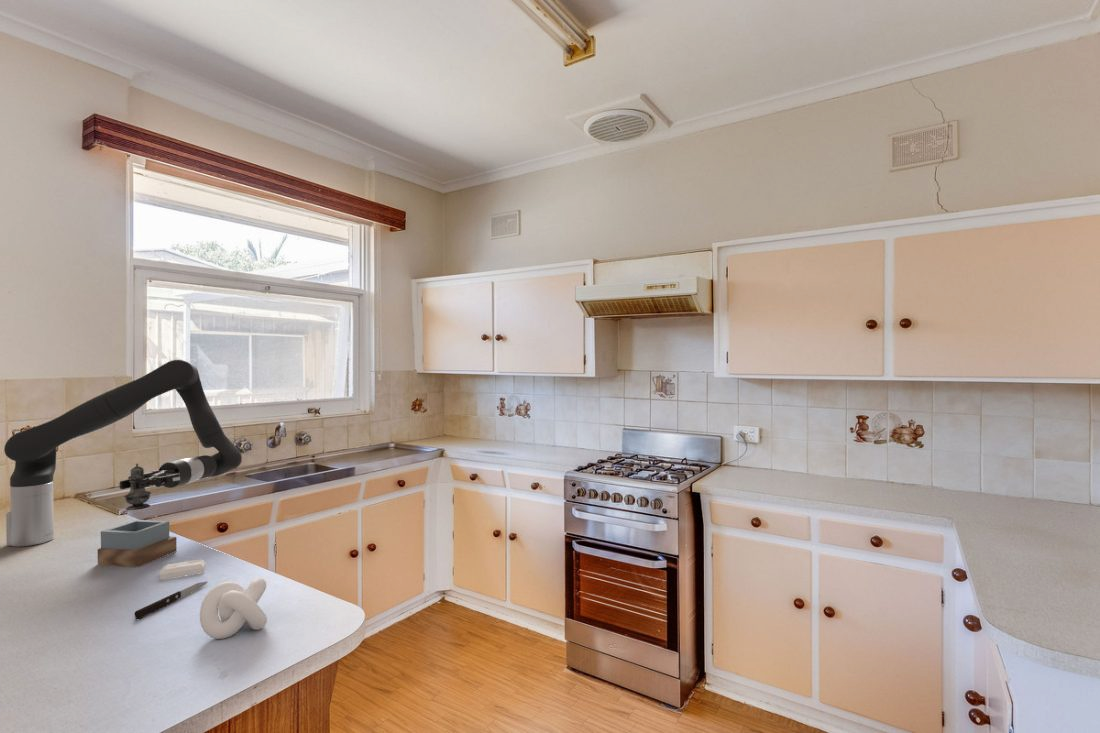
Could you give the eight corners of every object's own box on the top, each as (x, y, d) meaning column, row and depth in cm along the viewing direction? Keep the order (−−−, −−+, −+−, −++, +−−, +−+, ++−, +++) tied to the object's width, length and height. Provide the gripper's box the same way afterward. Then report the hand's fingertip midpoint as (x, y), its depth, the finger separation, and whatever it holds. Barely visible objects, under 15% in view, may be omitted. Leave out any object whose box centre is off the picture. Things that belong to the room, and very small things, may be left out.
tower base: (97, 566, 141) (97, 549, 141) (139, 550, 153) (139, 534, 153) (136, 569, 139) (136, 551, 139) (176, 552, 151) (176, 536, 151)
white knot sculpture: (229, 614, 113) (228, 571, 113) (285, 614, 112) (285, 571, 112) (191, 642, 101) (191, 594, 101) (254, 643, 101) (253, 595, 101)
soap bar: (162, 575, 135) (162, 564, 135) (205, 568, 139) (205, 557, 139) (159, 582, 131) (159, 571, 131) (204, 574, 135) (204, 564, 135)
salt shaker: (136, 511, 143) (135, 465, 143) (118, 510, 144) (117, 465, 144) (157, 505, 149) (155, 461, 149) (139, 504, 150) (138, 461, 150)
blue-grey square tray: (100, 548, 142) (100, 531, 142) (136, 535, 152) (136, 519, 152) (135, 550, 140) (135, 533, 140) (169, 537, 151) (169, 521, 151)
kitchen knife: (138, 621, 110) (137, 611, 110) (134, 621, 110) (133, 611, 110) (209, 585, 128) (209, 577, 128) (206, 585, 128) (206, 576, 128)
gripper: (160, 459, 162) (104, 471, 145) (202, 460, 159) (149, 472, 142) (161, 484, 162) (105, 498, 145) (202, 485, 160) (150, 500, 143)
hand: (127, 485), depth 144 cm, fingers closed on salt shaker, 3 cm apart
